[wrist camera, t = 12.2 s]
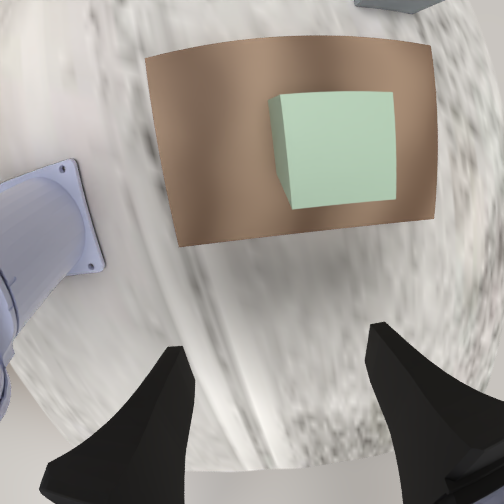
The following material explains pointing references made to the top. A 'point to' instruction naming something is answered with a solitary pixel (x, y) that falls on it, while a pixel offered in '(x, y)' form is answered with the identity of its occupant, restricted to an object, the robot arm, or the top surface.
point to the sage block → (334, 147)
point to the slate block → (398, 4)
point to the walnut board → (260, 134)
